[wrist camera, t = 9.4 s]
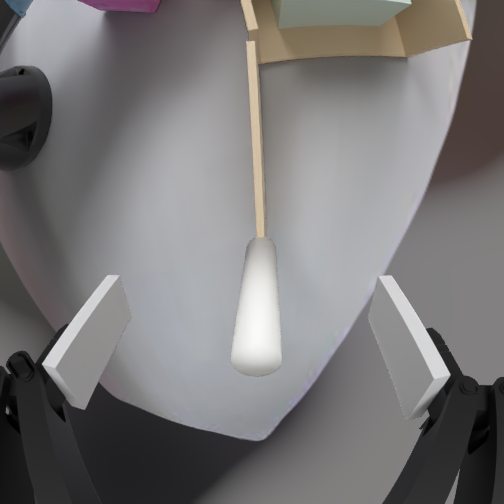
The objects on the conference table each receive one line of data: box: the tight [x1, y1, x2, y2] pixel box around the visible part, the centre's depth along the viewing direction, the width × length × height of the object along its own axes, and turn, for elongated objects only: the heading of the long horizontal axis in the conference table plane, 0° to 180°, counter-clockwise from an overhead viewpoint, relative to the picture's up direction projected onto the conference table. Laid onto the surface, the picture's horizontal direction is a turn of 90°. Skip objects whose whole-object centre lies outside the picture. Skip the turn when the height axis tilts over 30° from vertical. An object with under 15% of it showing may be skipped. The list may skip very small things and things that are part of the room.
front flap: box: [231, 41, 282, 376], centre depth 18 cm, size 17×2×22 cm, turn 3°
